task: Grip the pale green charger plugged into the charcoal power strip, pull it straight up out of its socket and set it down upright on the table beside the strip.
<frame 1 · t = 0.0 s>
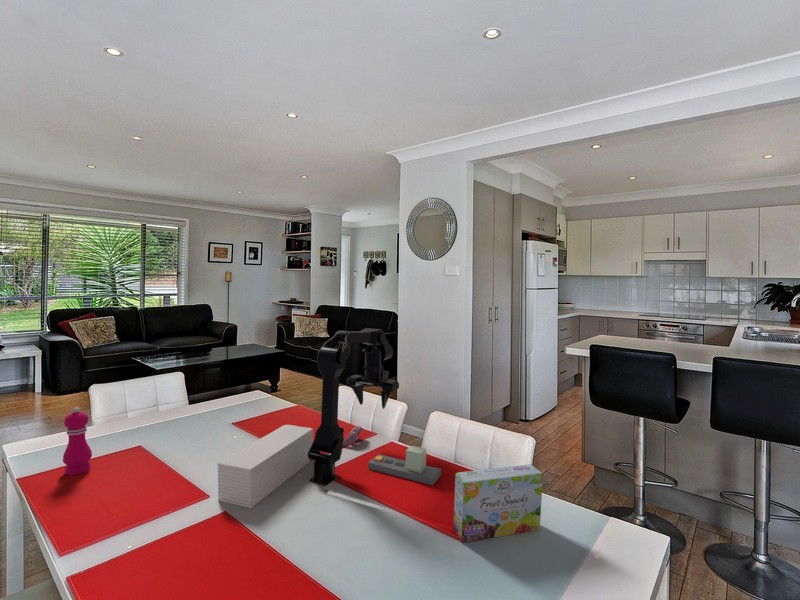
hand: (372, 406, 154), 15 cm above the table, tool pointing down, fingers open, 9 cm apart
snack box: (497, 532, 105), on the table
stack of papers: (270, 479, 130), on the table
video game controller: (352, 443, 158), on the table
pepper mill: (78, 471, 133), on the table
charger: (415, 474, 132), point 1 cm above the table, touching power strip
power strip: (403, 475, 133), on the table
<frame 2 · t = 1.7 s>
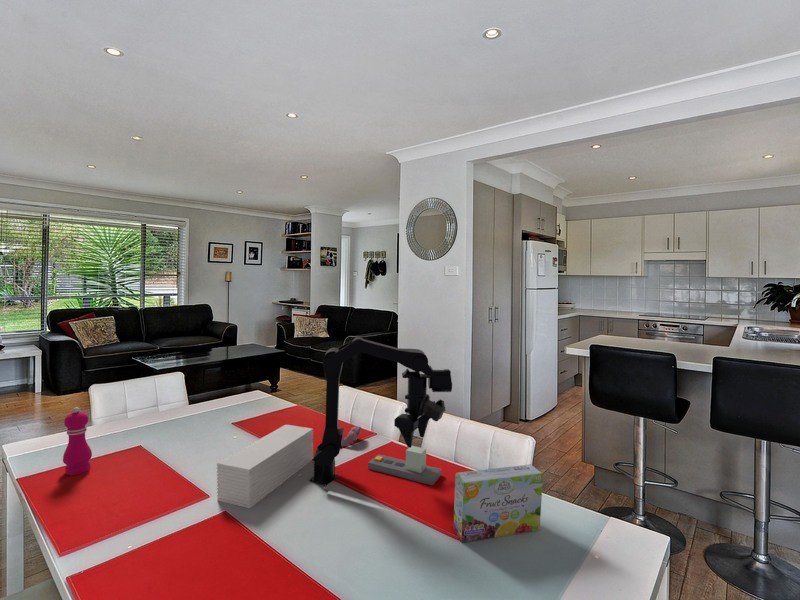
hand: (415, 442, 131), 11 cm above the table, tool pointing down, fingers open, 9 cm apart
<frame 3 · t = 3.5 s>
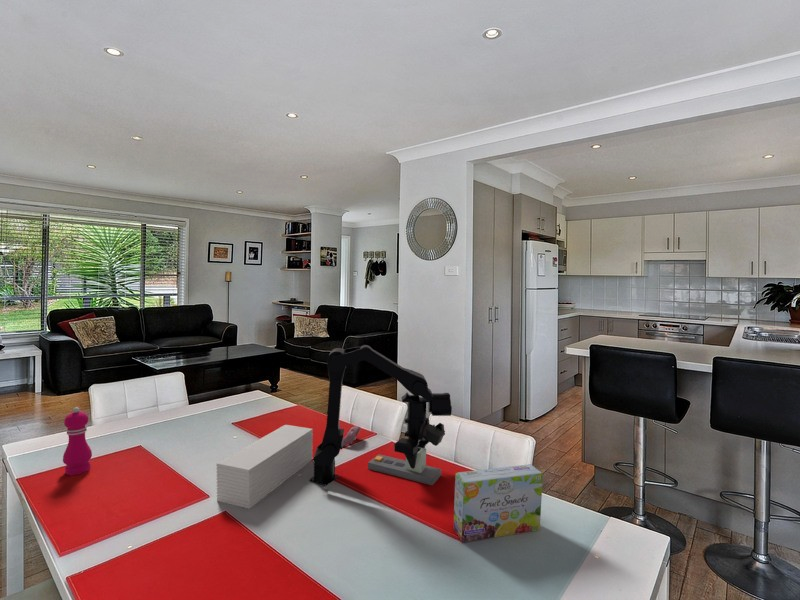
hand: (415, 465, 131), 4 cm above the table, tool pointing down, fingers closed on charger, 4 cm apart
charger: (415, 474, 132), point 1 cm above the table, touching gripper, power strip
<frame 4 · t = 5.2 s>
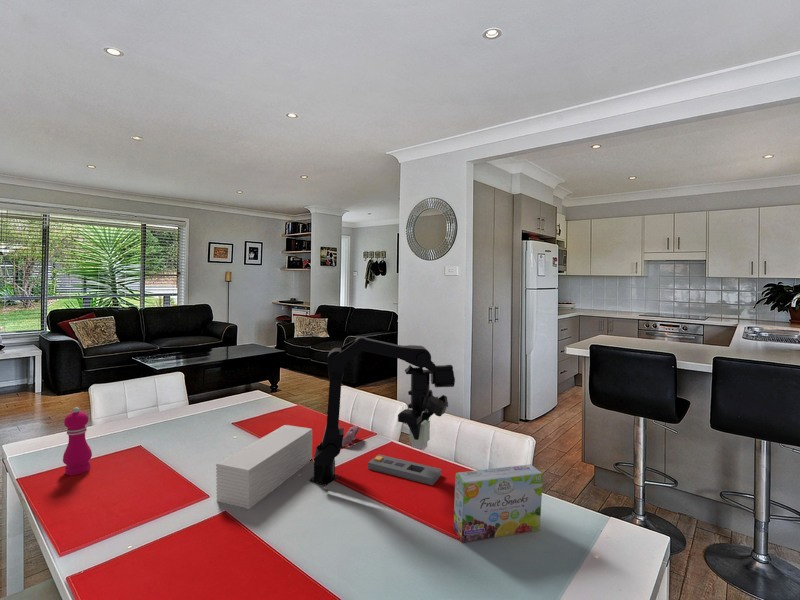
hand: (419, 437, 132), 12 cm above the table, tool pointing down, fingers closed on charger, 4 cm apart
charger: (419, 446, 133), point 9 cm above the table, touching gripper
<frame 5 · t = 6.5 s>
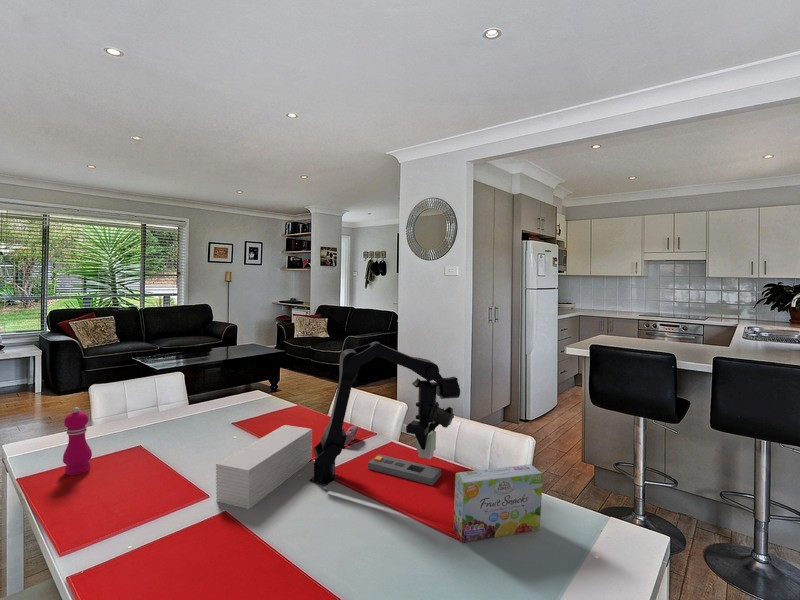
hand: (426, 447, 138), 7 cm above the table, tool pointing down, fingers closed on charger, 4 cm apart
charger: (425, 456, 138), point 4 cm above the table, touching gripper
when the fingers open (4 cm above the table, at t = 7.3 s): charger drops 2 cm, on the table.
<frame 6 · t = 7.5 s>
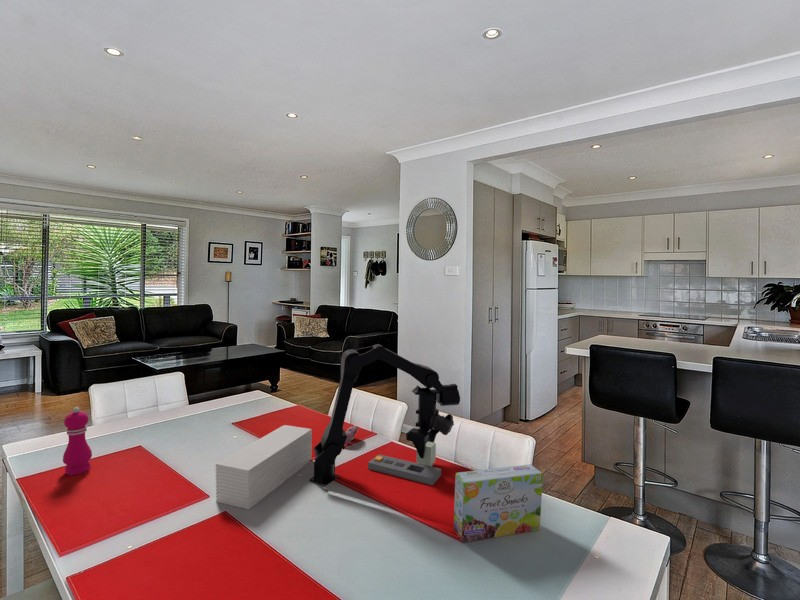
hand: (426, 454, 138), 4 cm above the table, tool pointing down, fingers open, 6 cm apart
charger: (425, 467, 139), on the table
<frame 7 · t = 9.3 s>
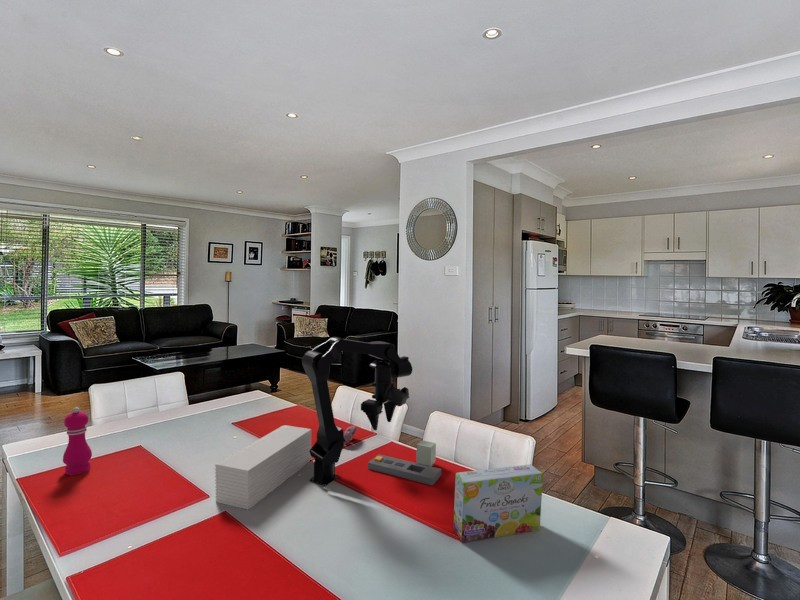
hand: (382, 425, 143), 12 cm above the table, tool pointing down, fingers open, 9 cm apart
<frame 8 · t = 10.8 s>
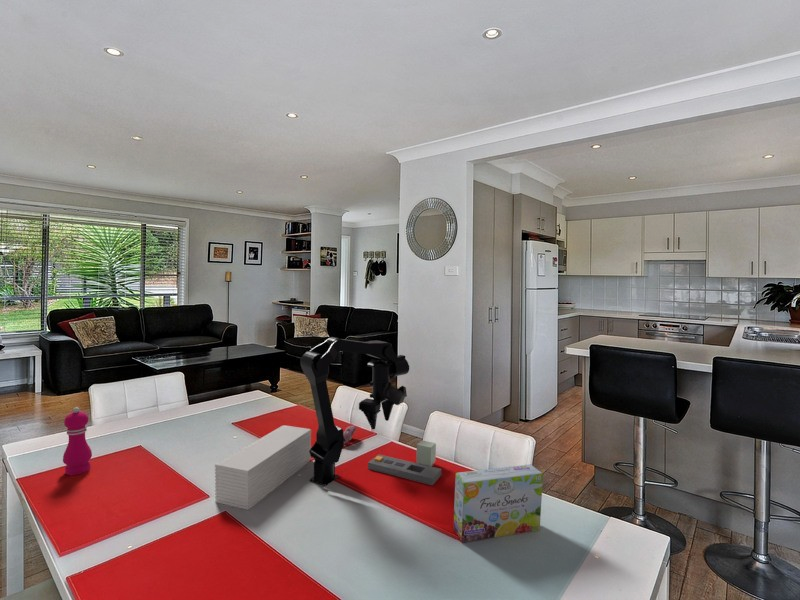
hand: (380, 424, 143), 12 cm above the table, tool pointing down, fingers open, 9 cm apart
at the end: charger inside the target area (0.1 cm from its centre), on the table; charger touching table; charger tilted 0° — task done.
